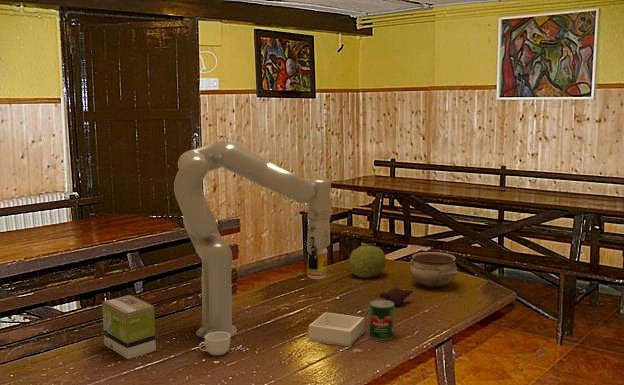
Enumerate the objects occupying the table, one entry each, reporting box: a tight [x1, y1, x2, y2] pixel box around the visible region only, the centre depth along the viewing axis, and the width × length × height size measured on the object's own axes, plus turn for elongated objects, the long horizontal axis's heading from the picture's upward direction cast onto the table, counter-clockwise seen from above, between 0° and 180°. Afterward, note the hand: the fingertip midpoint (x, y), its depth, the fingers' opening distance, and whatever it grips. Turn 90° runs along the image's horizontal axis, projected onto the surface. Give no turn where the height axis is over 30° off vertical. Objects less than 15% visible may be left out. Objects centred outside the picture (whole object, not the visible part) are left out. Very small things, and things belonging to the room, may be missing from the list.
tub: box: [308, 311, 366, 348], centre depth 215 cm, size 14×14×5 cm
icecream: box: [379, 286, 413, 306], centre depth 247 cm, size 7×8×15 cm
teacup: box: [198, 331, 231, 356], centre depth 201 cm, size 10×8×5 cm
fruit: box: [348, 245, 387, 279], centre depth 285 cm, size 16×14×15 cm
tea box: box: [101, 294, 157, 360], centre depth 204 cm, size 15×10×15 cm, turn 44°
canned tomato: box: [368, 299, 395, 341], centre depth 216 cm, size 8×8×11 cm
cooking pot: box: [409, 251, 459, 289], centre depth 271 cm, size 25×19×12 cm
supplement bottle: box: [306, 247, 328, 280], centre depth 226 cm, size 7×7×13 cm
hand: (317, 266), depth 227 cm, fingers closed on supplement bottle, 6 cm apart
